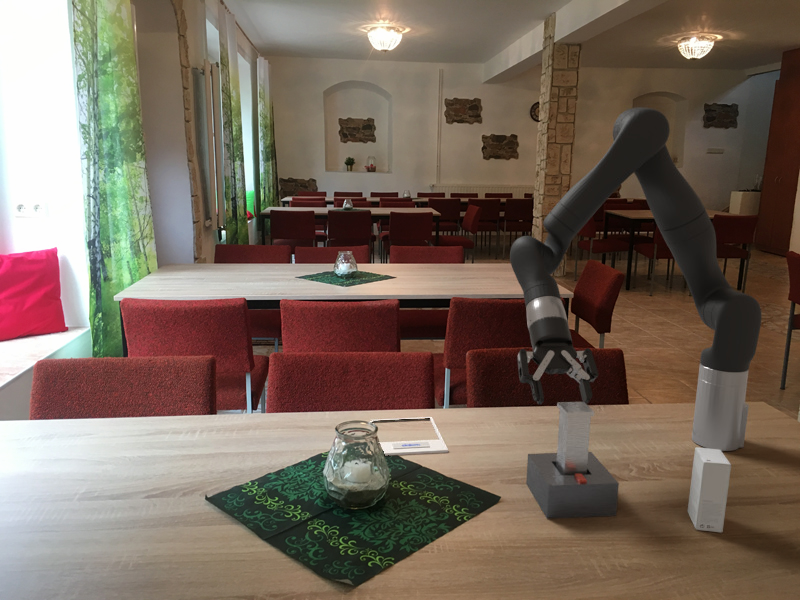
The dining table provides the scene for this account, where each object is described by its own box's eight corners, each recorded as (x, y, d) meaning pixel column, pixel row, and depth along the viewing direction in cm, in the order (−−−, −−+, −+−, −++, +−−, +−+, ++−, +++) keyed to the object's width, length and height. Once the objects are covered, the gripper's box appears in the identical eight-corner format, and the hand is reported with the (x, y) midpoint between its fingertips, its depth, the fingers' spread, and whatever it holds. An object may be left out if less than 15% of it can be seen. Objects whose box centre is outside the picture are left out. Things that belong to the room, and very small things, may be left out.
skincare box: (723, 533, 103) (732, 465, 100) (695, 530, 104) (703, 462, 101) (713, 514, 109) (721, 448, 106) (686, 511, 109) (693, 446, 107)
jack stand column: (577, 490, 116) (583, 401, 112) (587, 503, 111) (594, 411, 107) (551, 491, 115) (557, 402, 112) (560, 505, 110) (566, 412, 107)
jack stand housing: (588, 481, 119) (591, 449, 118) (615, 515, 108) (619, 480, 106) (526, 483, 118) (528, 451, 117) (546, 518, 107) (549, 482, 105)
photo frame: (377, 452, 129) (369, 418, 146) (377, 457, 129) (369, 423, 147) (448, 449, 131) (431, 416, 148) (448, 454, 131) (431, 420, 149)
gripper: (516, 315, 120) (530, 394, 111) (589, 314, 121) (609, 392, 112) (507, 335, 126) (520, 411, 117) (577, 334, 127) (595, 409, 119)
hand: (564, 402), depth 115 cm, fingers open, 8 cm apart
